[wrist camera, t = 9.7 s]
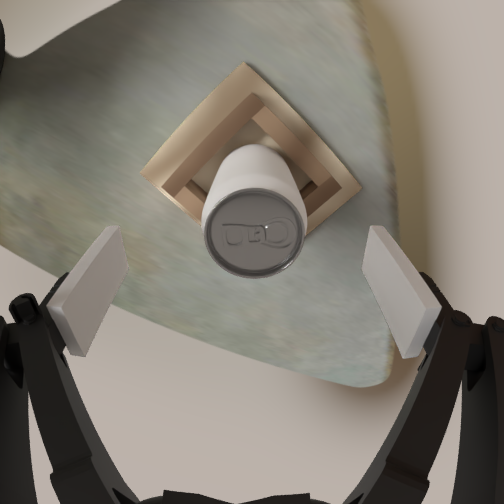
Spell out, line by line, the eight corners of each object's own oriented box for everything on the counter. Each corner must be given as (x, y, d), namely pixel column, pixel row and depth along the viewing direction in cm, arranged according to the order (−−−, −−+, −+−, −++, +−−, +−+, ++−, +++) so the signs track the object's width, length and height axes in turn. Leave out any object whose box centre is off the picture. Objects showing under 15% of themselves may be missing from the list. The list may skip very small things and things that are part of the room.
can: (290, 208, 29) (310, 281, 19) (221, 212, 29) (204, 287, 19) (288, 141, 26) (313, 177, 15) (215, 145, 26) (188, 185, 16)
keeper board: (142, 170, 28) (130, 180, 25) (243, 62, 23) (242, 58, 20) (257, 270, 34) (258, 288, 31) (360, 185, 29) (371, 197, 26)
